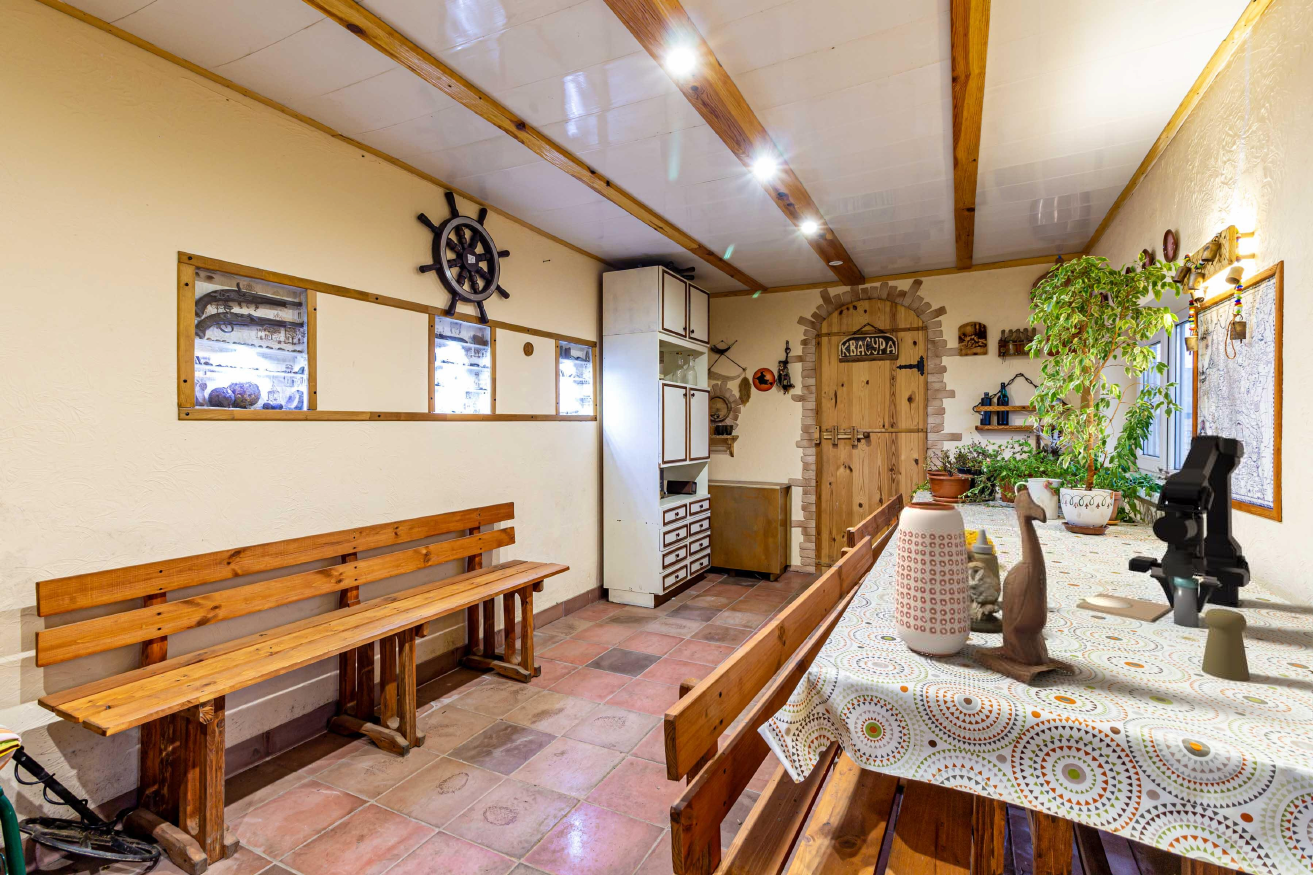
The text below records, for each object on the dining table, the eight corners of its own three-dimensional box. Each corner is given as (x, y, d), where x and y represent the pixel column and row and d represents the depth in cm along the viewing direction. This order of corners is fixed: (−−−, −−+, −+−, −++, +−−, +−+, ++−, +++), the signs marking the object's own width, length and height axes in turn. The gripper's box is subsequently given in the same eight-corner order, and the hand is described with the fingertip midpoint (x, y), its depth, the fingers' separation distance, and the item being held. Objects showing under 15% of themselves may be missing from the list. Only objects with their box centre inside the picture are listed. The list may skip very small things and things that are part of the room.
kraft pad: (1098, 594, 150) (1098, 592, 150) (1172, 608, 139) (1172, 605, 139) (1073, 606, 141) (1073, 603, 141) (1150, 622, 129) (1150, 618, 129)
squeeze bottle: (997, 600, 147) (997, 528, 147) (1005, 609, 139) (1004, 533, 139) (961, 597, 149) (961, 526, 149) (966, 606, 142) (966, 531, 142)
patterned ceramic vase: (939, 667, 106) (938, 510, 106) (880, 643, 118) (879, 502, 118) (986, 653, 112) (985, 505, 112) (925, 632, 124) (924, 498, 124)
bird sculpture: (1034, 690, 97) (1040, 496, 96) (971, 662, 108) (976, 488, 107) (1077, 678, 102) (1083, 493, 101) (1012, 653, 113) (1017, 486, 111)
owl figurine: (907, 616, 136) (907, 542, 136) (935, 607, 142) (934, 536, 142) (989, 637, 121) (988, 554, 121) (1015, 626, 128) (1015, 547, 128)
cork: (1260, 682, 98) (1260, 616, 98) (1217, 679, 100) (1217, 614, 100) (1232, 668, 104) (1232, 605, 104) (1192, 665, 106) (1192, 604, 106)
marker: (1176, 620, 130) (1176, 574, 130) (1201, 624, 127) (1201, 578, 127) (1170, 623, 128) (1170, 577, 128) (1196, 628, 125) (1196, 581, 125)
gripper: (1120, 536, 130) (1120, 607, 130) (1237, 549, 115) (1237, 629, 115) (1136, 530, 137) (1136, 598, 137) (1249, 542, 122) (1249, 618, 122)
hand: (1186, 610), depth 127 cm, fingers closed on marker, 4 cm apart
